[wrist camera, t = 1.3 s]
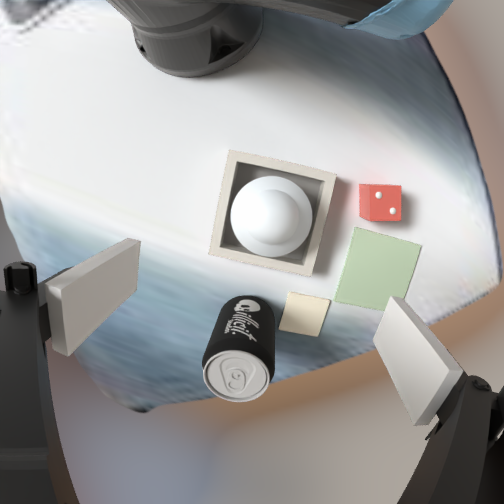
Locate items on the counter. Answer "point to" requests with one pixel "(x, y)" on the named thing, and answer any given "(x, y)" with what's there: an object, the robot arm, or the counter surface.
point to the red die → (380, 202)
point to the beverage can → (241, 350)
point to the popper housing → (254, 166)
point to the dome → (271, 216)
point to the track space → (303, 314)
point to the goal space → (376, 270)
